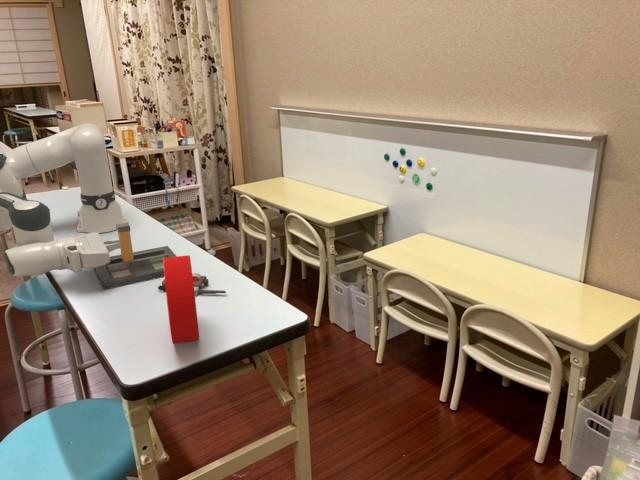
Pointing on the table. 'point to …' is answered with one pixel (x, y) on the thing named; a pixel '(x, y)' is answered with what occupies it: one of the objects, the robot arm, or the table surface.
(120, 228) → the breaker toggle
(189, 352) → the table surface
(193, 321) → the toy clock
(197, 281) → the walkie-talkie
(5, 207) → the robot arm
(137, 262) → the grey metal board
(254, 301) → the table surface
